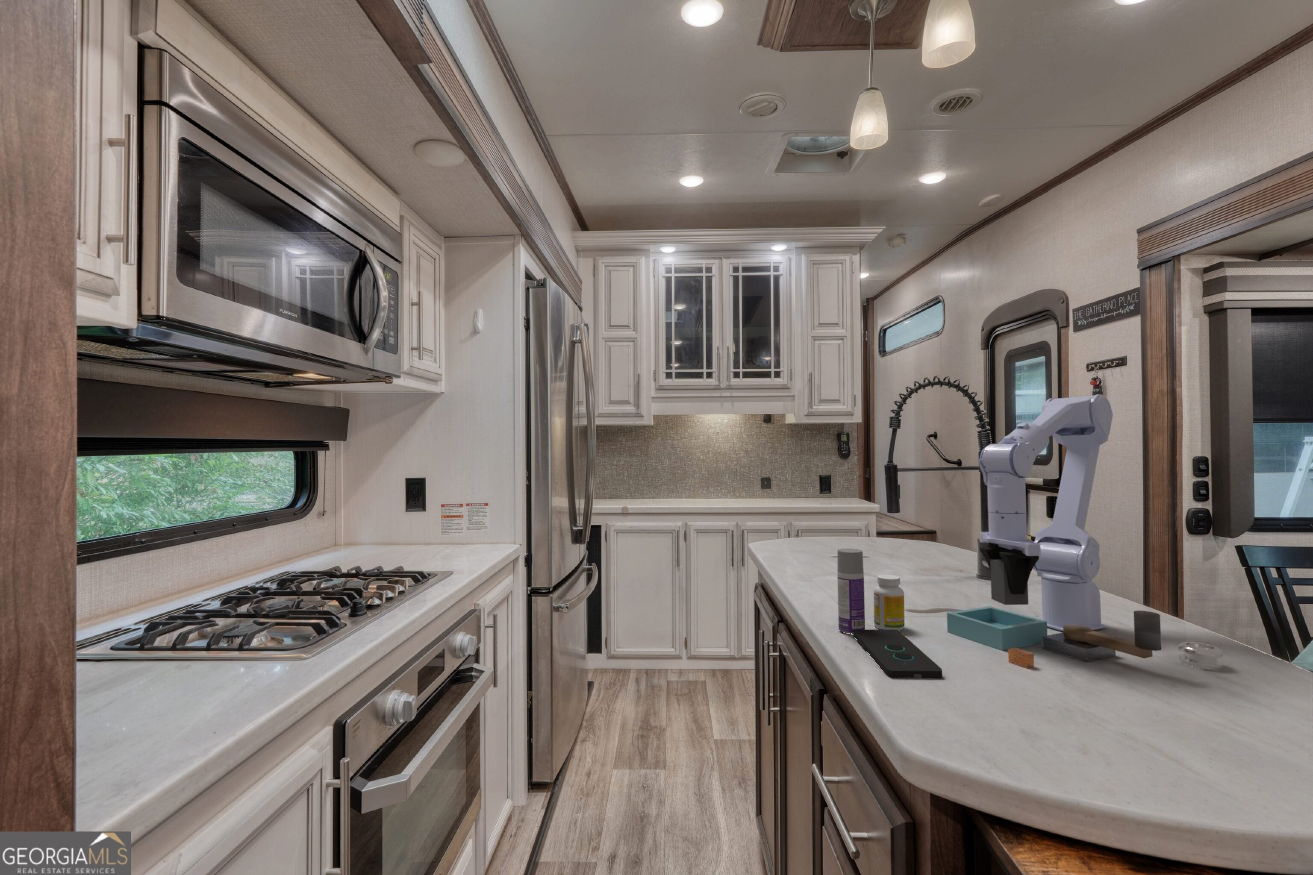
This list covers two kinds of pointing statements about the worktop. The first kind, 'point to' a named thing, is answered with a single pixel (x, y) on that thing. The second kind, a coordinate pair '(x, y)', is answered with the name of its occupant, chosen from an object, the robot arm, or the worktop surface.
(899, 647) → the black flat panel
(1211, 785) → the worktop surface
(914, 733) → the worktop surface
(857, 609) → the container
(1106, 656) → the wooden and grey pieces
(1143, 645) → the crank lever
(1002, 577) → the block
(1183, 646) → the metal wheel
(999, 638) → the tray
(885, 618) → the supplement bottle
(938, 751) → the worktop surface
